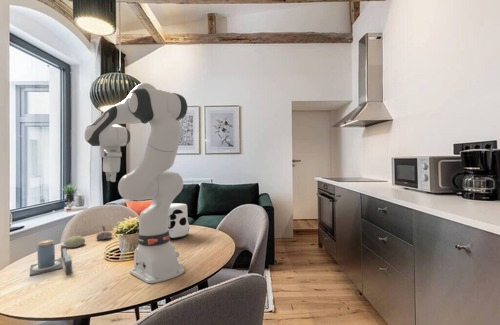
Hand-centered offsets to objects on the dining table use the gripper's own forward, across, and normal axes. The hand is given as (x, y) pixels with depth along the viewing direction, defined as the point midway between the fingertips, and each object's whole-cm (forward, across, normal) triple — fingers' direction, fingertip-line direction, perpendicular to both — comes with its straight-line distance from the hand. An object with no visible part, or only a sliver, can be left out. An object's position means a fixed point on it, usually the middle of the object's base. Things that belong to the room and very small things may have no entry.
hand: (110, 181), depth 124 cm
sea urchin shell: (+34, -20, -13) cm, 42 cm away
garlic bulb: (+34, -22, +1) cm, 41 cm away
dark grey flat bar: (+34, +7, -19) cm, 40 cm away
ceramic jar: (+33, +6, -26) cm, 42 cm away
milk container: (+34, +2, +32) cm, 46 cm away
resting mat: (+34, +6, -26) cm, 43 cm away
